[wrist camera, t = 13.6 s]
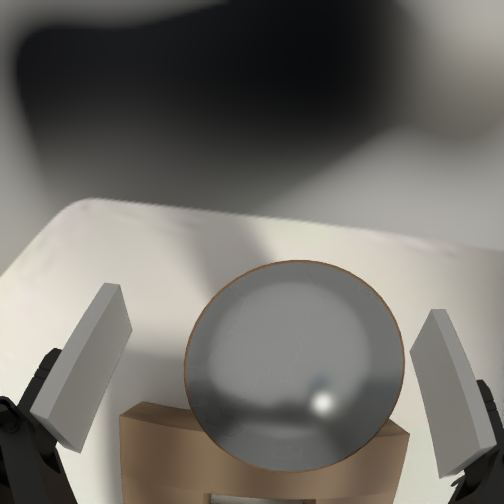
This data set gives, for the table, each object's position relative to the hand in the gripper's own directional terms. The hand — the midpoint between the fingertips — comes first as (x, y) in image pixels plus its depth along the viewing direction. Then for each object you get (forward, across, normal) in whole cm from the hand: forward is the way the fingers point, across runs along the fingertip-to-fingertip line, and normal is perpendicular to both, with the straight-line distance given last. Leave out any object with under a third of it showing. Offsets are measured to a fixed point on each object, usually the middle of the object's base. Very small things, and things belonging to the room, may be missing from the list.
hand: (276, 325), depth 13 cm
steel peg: (+6, 0, -7) cm, 9 cm away
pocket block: (-4, 0, -17) cm, 17 cm away
